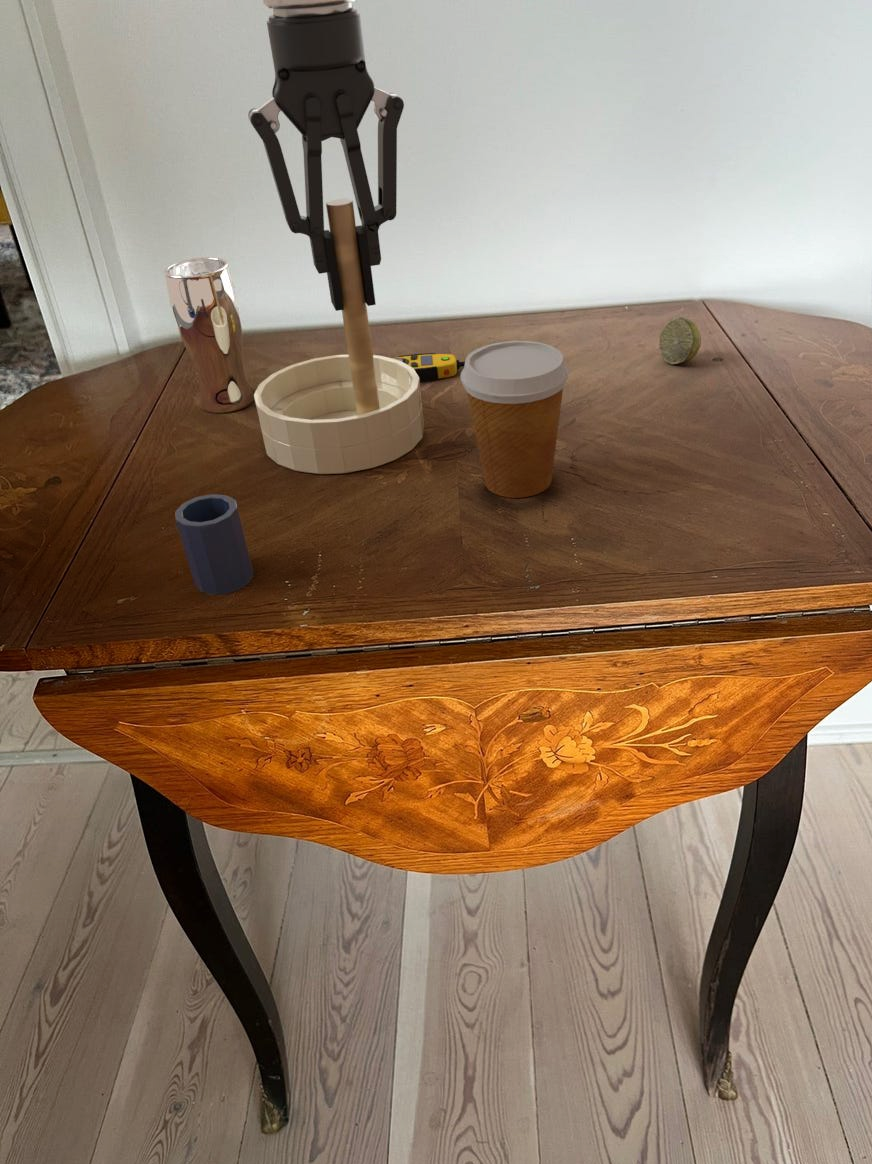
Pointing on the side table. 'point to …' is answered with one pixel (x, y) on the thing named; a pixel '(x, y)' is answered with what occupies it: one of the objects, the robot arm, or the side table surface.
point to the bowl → (338, 416)
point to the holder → (214, 543)
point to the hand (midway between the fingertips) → (353, 302)
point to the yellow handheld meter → (432, 365)
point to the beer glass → (210, 330)
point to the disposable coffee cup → (516, 413)
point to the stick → (353, 304)
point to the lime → (679, 341)
